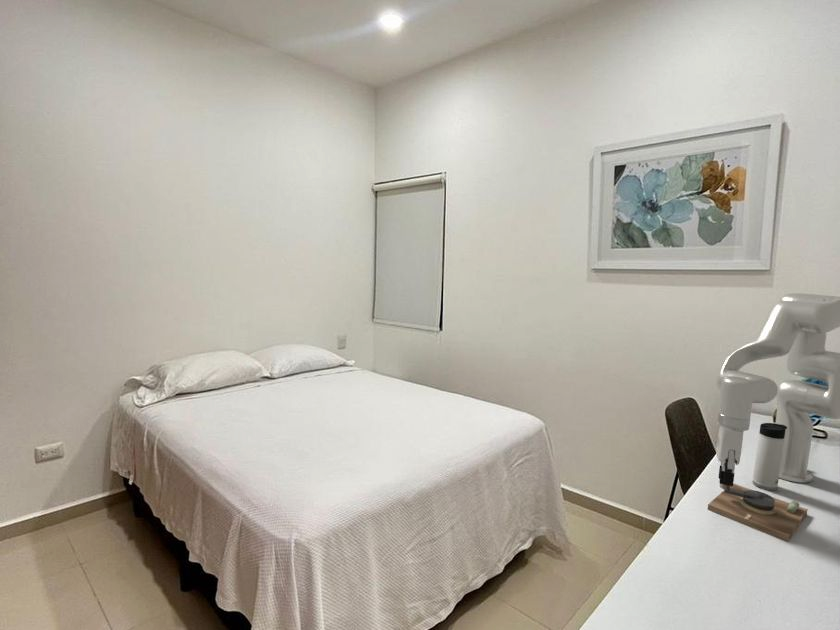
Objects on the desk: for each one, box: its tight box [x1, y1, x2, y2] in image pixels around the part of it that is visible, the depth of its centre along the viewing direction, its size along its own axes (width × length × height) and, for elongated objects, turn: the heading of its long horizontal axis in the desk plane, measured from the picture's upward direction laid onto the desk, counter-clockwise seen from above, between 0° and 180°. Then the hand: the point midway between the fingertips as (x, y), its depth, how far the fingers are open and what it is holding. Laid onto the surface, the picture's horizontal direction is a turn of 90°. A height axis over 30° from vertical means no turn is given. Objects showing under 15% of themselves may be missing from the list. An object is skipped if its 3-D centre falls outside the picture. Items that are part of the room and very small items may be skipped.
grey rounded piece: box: [719, 464, 775, 510], centre depth 127 cm, size 7×13×9 cm, turn 57°
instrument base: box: [707, 482, 808, 543], centre depth 127 cm, size 20×18×3 cm
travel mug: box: [752, 422, 787, 492], centre depth 140 cm, size 6×7×20 cm
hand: (725, 481), depth 130 cm, fingers open, 2 cm apart
